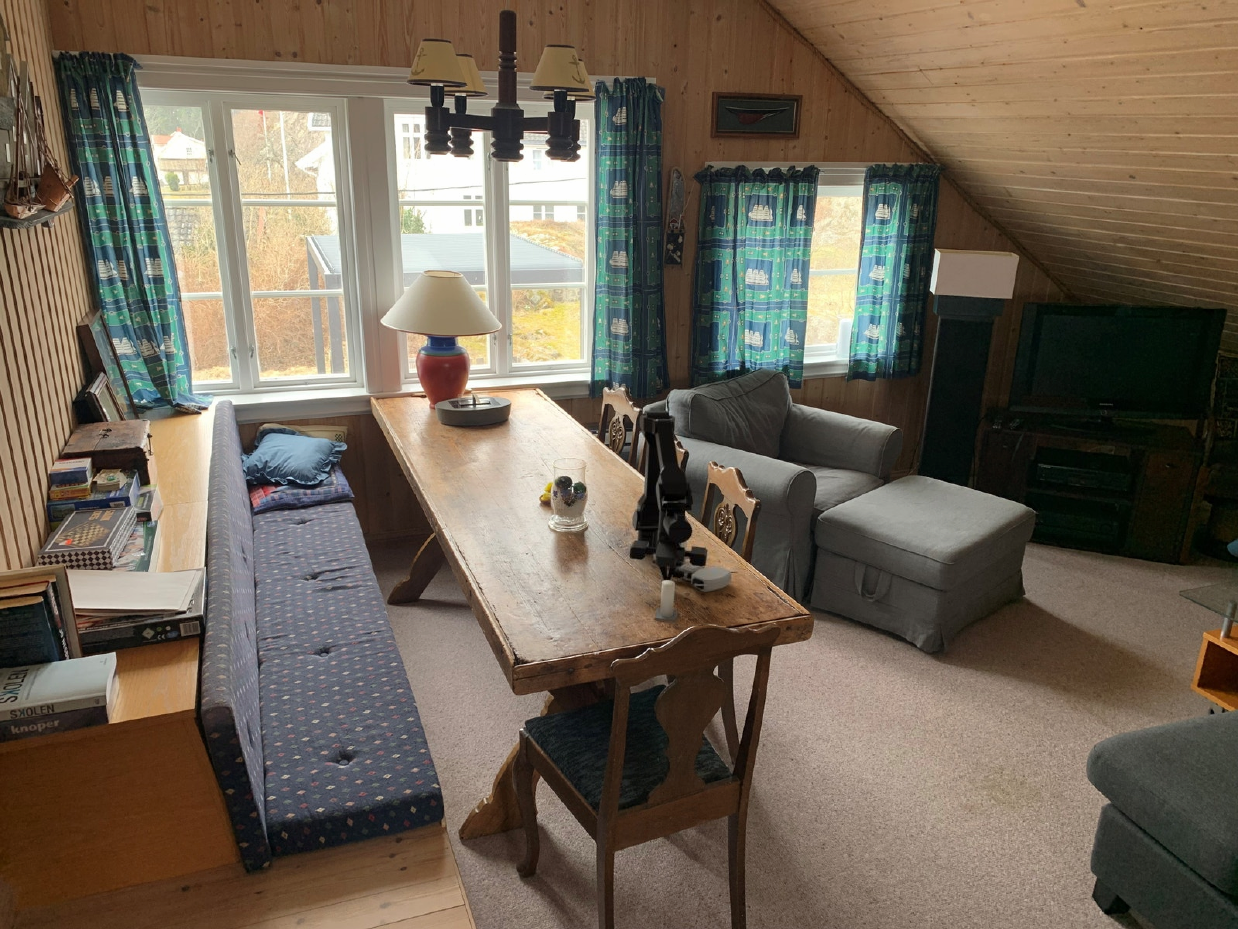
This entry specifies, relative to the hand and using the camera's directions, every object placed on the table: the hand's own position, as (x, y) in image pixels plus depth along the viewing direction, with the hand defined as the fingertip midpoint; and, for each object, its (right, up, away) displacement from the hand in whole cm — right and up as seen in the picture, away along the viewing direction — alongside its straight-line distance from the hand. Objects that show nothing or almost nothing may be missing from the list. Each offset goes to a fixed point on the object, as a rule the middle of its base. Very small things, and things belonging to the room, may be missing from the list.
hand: (666, 584), depth 222 cm
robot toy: (+9, -1, +5) cm, 10 cm away
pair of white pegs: (+2, -1, 0) cm, 2 cm away
